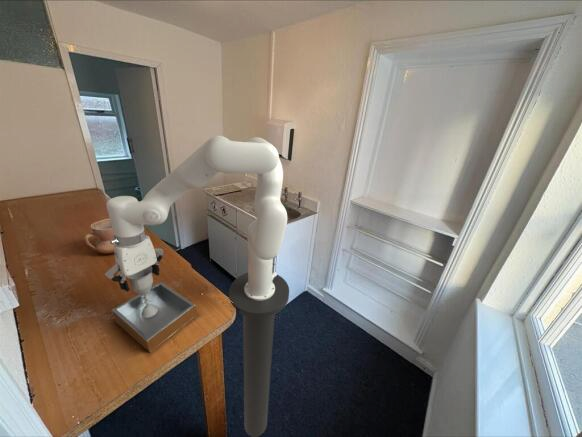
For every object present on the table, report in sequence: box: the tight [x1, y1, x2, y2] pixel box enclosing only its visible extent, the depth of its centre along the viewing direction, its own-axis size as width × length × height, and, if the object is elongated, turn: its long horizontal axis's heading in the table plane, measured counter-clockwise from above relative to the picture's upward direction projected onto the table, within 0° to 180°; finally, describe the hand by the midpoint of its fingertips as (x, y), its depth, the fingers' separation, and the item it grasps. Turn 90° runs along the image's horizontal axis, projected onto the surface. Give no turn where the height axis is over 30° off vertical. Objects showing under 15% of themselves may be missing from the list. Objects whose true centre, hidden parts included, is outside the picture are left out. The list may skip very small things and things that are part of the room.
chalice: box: [126, 266, 158, 318], centre depth 79 cm, size 7×7×18 cm
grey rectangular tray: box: [111, 281, 198, 353], centre depth 80 cm, size 17×20×5 cm
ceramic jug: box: [84, 218, 115, 255], centre depth 112 cm, size 18×14×14 cm
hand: (141, 281), depth 77 cm, fingers open, 9 cm apart
